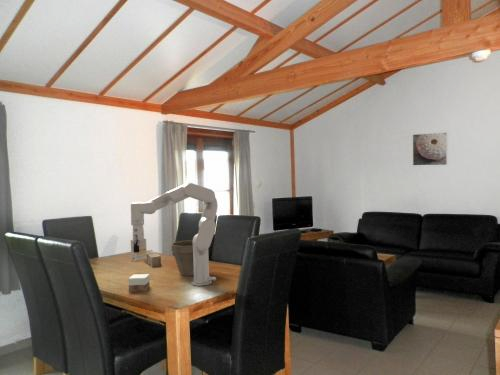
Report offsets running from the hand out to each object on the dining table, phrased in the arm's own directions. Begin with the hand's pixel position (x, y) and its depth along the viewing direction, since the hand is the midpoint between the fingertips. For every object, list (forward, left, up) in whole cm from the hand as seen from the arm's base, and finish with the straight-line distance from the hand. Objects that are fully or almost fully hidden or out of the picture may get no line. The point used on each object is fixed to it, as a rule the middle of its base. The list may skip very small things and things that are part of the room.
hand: (138, 250), depth 241 cm
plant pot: (-27, -36, -23) cm, 51 cm away
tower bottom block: (0, 0, -23) cm, 23 cm away
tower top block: (0, 0, -19) cm, 19 cm away
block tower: (+7, -76, -24) cm, 80 cm away
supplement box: (0, 0, -6) cm, 6 cm away
